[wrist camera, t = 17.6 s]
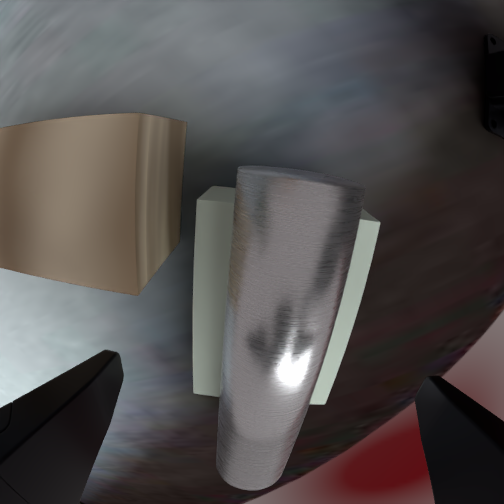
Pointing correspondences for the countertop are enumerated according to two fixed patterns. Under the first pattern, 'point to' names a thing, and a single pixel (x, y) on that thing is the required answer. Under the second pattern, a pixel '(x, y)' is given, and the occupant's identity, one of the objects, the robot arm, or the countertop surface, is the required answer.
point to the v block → (215, 291)
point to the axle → (279, 311)
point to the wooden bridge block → (91, 198)
